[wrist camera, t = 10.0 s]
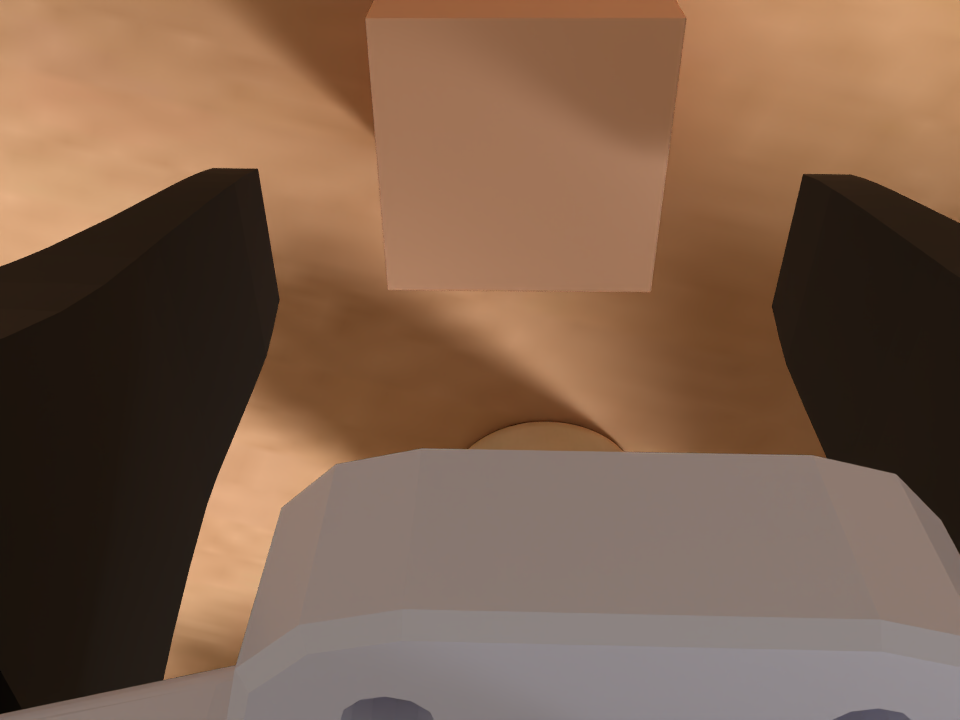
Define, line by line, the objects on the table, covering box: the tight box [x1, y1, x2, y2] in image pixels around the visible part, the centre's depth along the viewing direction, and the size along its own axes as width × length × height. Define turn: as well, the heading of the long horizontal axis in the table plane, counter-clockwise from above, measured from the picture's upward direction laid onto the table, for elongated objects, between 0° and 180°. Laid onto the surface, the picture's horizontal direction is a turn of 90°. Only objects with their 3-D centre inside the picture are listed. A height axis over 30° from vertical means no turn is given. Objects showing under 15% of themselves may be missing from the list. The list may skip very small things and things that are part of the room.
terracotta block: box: [365, 0, 686, 292], centre depth 15 cm, size 4×4×5 cm
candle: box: [469, 422, 623, 452], centre depth 21 cm, size 6×6×10 cm
